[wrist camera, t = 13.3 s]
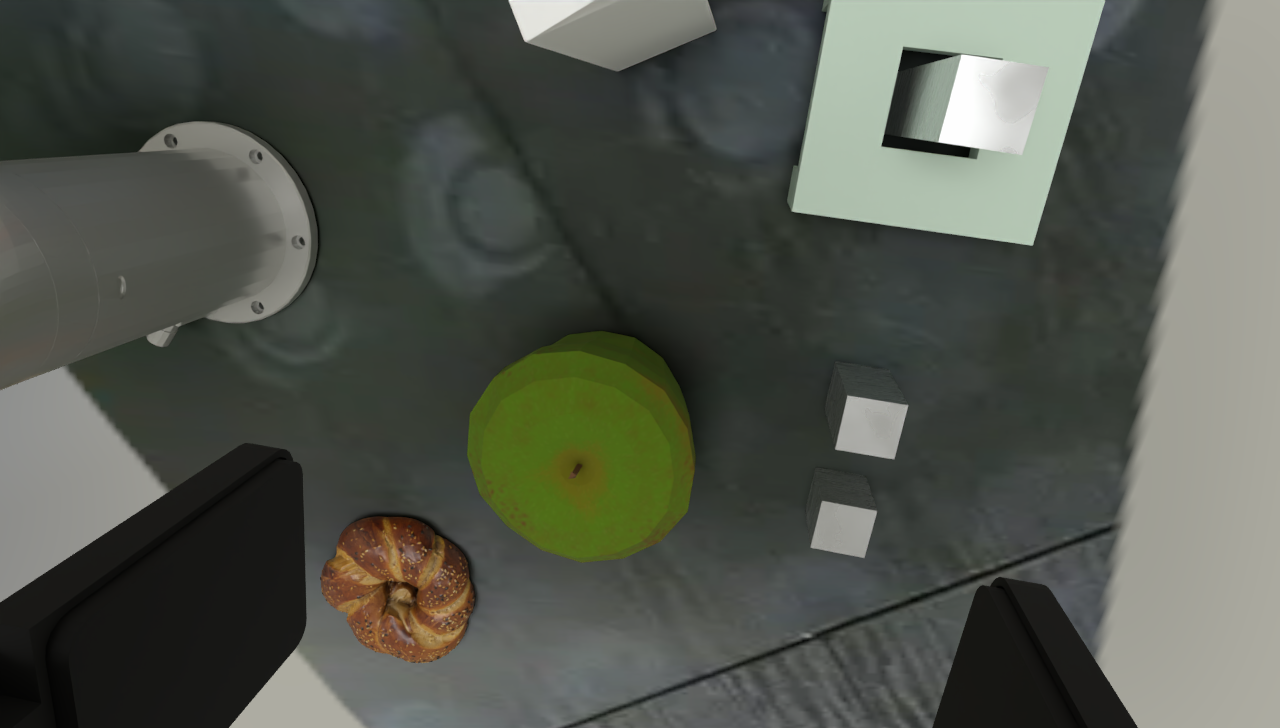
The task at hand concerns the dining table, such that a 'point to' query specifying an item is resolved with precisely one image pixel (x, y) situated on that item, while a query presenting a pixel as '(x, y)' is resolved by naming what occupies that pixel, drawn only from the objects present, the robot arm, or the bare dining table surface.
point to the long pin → (967, 103)
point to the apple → (585, 447)
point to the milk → (612, 27)
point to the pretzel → (400, 588)
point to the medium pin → (865, 410)
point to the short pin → (840, 512)
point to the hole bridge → (921, 181)
